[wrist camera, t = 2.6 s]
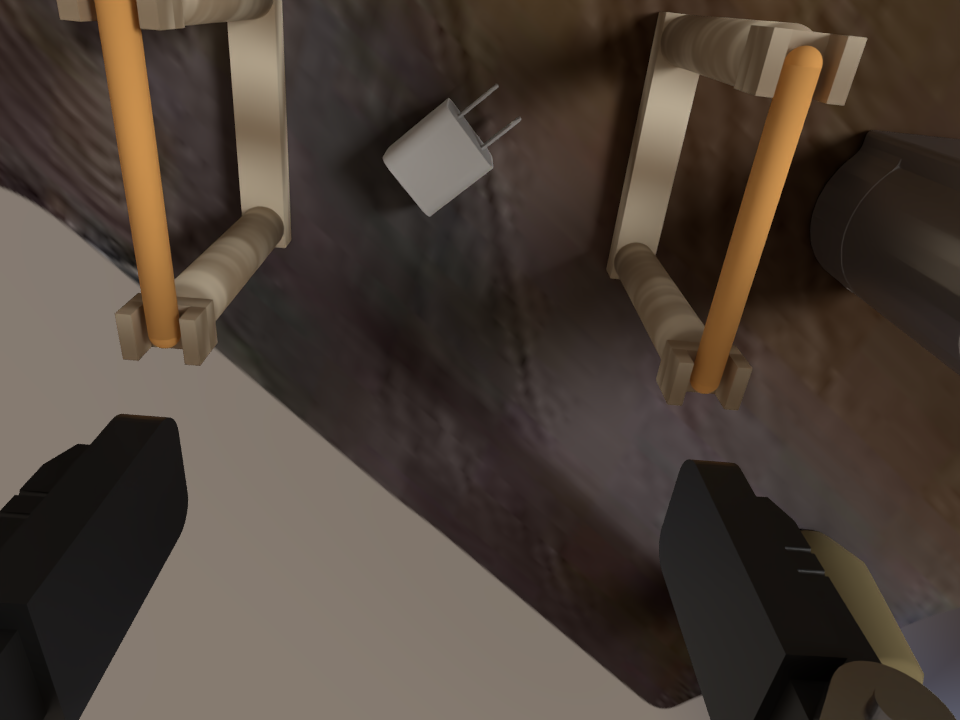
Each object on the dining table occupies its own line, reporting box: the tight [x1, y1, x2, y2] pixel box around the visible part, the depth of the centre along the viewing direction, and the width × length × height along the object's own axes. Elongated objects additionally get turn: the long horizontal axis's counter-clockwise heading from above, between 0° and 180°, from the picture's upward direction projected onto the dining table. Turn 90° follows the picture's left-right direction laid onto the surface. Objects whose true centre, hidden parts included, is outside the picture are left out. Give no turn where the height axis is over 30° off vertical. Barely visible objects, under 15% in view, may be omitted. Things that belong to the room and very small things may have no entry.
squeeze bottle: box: [801, 530, 924, 685], centre depth 45 cm, size 8×8×18 cm
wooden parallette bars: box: [57, 0, 867, 410], centre depth 30 cm, size 14×25×16 cm, turn 84°
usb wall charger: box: [383, 84, 521, 216], centre depth 36 cm, size 4×7×4 cm, turn 127°
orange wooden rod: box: [690, 45, 823, 394], centre depth 24 cm, size 13×1×1 cm, turn 174°
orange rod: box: [94, 0, 181, 348], centre depth 23 cm, size 13×1×1 cm, turn 174°
